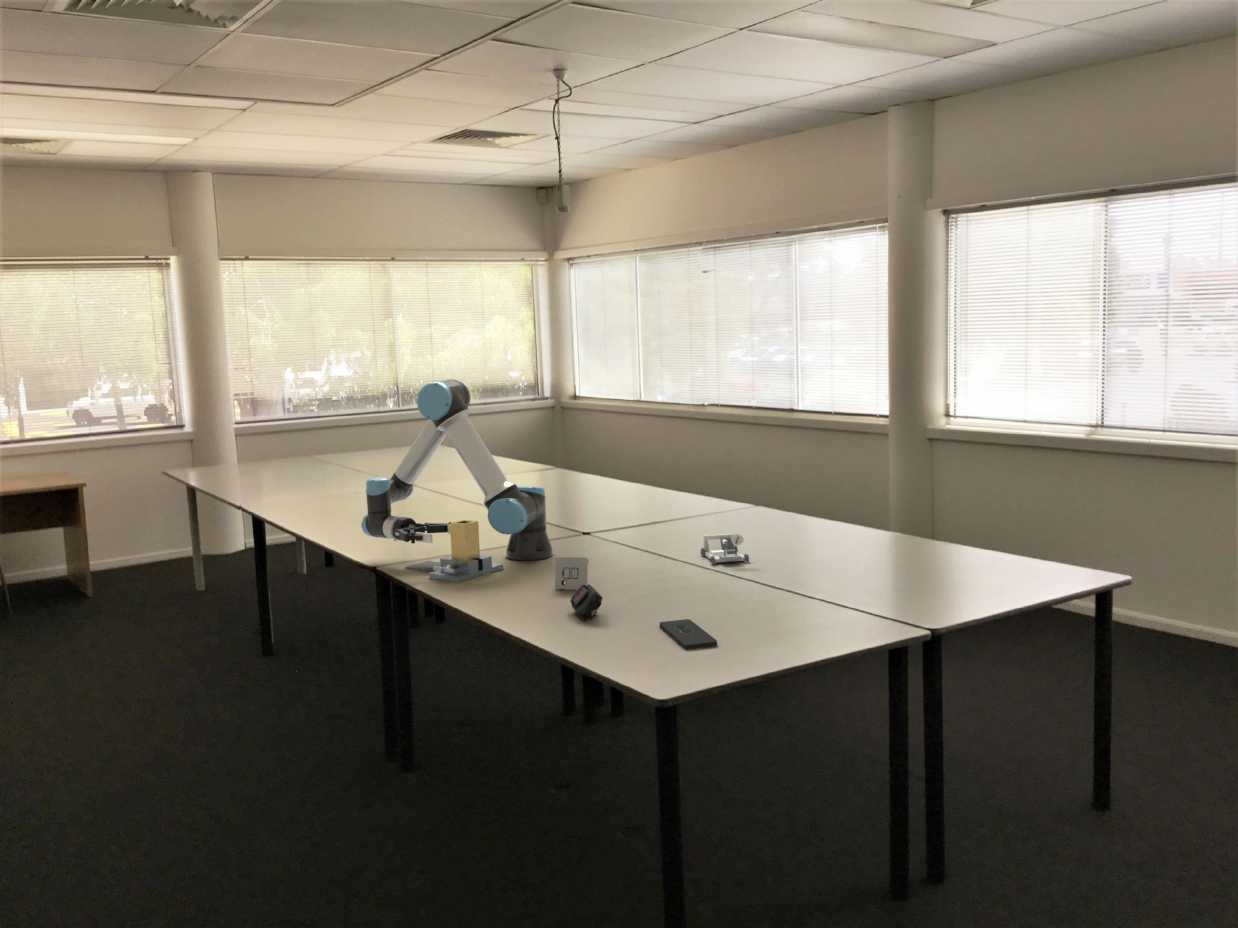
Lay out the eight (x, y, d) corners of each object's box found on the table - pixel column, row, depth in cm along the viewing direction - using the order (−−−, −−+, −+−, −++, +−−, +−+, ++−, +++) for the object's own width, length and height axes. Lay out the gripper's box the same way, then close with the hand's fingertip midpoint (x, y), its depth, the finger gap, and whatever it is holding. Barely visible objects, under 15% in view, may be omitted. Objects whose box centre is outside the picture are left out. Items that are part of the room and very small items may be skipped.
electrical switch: (554, 590, 294) (554, 557, 294) (559, 587, 299) (559, 555, 299) (586, 591, 292) (586, 558, 292) (590, 588, 298) (590, 555, 297)
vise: (475, 564, 329) (473, 521, 328) (503, 569, 322) (501, 524, 321) (429, 578, 313) (426, 532, 312) (457, 582, 306) (455, 536, 305)
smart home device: (689, 618, 257) (718, 640, 238) (689, 624, 258) (718, 647, 238) (657, 621, 255) (684, 644, 236) (658, 628, 255) (684, 651, 236)
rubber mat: (428, 562, 335) (428, 560, 335) (450, 565, 329) (450, 564, 329) (405, 568, 327) (404, 566, 327) (427, 572, 321) (427, 570, 321)
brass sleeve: (465, 554, 321) (464, 519, 320) (479, 556, 318) (478, 521, 316) (451, 558, 317) (450, 522, 315) (466, 560, 313) (464, 524, 312)
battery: (586, 614, 274) (565, 601, 272) (604, 589, 273) (583, 576, 271) (594, 631, 263) (572, 617, 261) (613, 605, 262) (591, 591, 260)
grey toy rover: (751, 534, 317) (714, 537, 315) (751, 566, 318) (715, 568, 316) (734, 524, 334) (700, 526, 333) (735, 554, 336) (700, 556, 334)
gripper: (429, 533, 343) (476, 539, 331) (371, 547, 323) (418, 554, 311) (428, 510, 342) (475, 516, 330) (369, 523, 322) (416, 529, 310)
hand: (447, 534), depth 320 cm, fingers open, 13 cm apart
